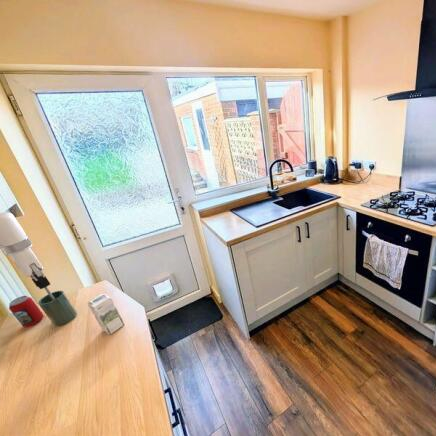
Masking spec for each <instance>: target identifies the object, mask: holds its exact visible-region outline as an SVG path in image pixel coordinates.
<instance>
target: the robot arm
mask: <svg viewBox="0 0 436 436" xmlns="http://www.w3.org/2000/svg"><path fill="white" fill-rule="evenodd" d="M31 247H33V243H32V241H31V239H30V238H29V237H28V235H27V234H26V232H25V230H24V229H23V227H22V226H21V224H20V223H19V221H18V219H17V218H16V217H15V215H14V214H13V213H11V212H7V211H6V212H5V211H3V212H0V250H1V252H2V254H3V255H4V256H9V257H10V258H11V261H12V262H13V264H14V265H15V266H16V268H17V269H18V272H20V273H21V274H22V275H24V277H27V278H31V281H32V282H33V284H34V285H35V286H36V287H37V288H39V289H40V290H43V289H44V288H45V287H47V288H48V286H51V283H50V281H49V280H48V278H47V277H46V276H45V274H44V272H43V271H44V267H43V265H42V263H41V261H39V258H38V257H37V256H36V255H35V253H34V252H33V250H32V248H31Z"/></svg>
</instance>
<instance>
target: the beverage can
mask: <svg viewBox="0 0 436 436" xmlns="http://www.w3.org/2000/svg"><path fill="white" fill-rule="evenodd" d="M8 309H9V311H10V312H11V314H12V315H13V316H14V317H15V318H16V320H17V321H18V322H19V323H20V324H21V326H22V327H24V328H28V327H32V326H35V325H36V324H38V323H40V322H41V321H42V319H43V318H44V316H45V315H44V313H43V312H42V310H41V309H40V307H39V306H38V305H37V304H36V302H35V301H34V299H33V298H32V297H29V296H28V295H22V296H19V297H16V298H15V299H13V300H11V301H10V302H9V306H8Z"/></svg>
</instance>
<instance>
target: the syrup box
mask: <svg viewBox="0 0 436 436" xmlns="http://www.w3.org/2000/svg"><path fill="white" fill-rule="evenodd" d="M87 306H88V307H89V309H90V311H91V313H92V314H93V316H94V317H95V319H96V321H97V323H98V325H99V326H100V328H101V330H102V331H103V332H105V333H106V334H108V336H111V335H113V334H114V333H115V332H117V331H118V330H120V329H121V328H122V327H123V326H125V322H124V320H123V319H122V316H121V314H120V312H119V311H118V309H117V307H116V305H115V303H114V301H113V299H112V297H110V296H108V295H107V294H105V293H102V294H100V295H98V296H96V297H94V298H93V299H91V300H90V301H88V302H87Z"/></svg>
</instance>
